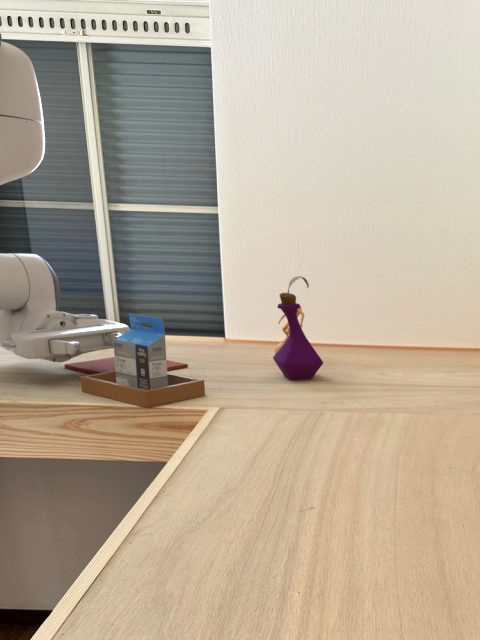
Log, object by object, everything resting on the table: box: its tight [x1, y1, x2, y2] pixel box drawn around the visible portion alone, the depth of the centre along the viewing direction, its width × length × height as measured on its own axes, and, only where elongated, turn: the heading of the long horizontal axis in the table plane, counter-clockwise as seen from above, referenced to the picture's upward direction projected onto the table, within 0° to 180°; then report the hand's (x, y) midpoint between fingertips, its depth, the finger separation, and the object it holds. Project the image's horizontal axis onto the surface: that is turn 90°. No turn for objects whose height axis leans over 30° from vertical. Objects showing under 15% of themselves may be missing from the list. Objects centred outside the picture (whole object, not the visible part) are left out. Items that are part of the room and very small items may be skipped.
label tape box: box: [113, 313, 168, 390], centre depth 117 cm, size 9×4×12 cm, turn 55°
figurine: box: [274, 305, 305, 355], centre depth 148 cm, size 8×6×12 cm
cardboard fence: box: [79, 371, 206, 409], centre depth 119 cm, size 12×17×2 cm
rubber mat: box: [64, 356, 189, 375], centre depth 139 cm, size 16×16×1 cm
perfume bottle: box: [272, 275, 324, 381], centre depth 132 cm, size 8×8×18 cm
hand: (101, 345), depth 122 cm, fingers open, 8 cm apart
